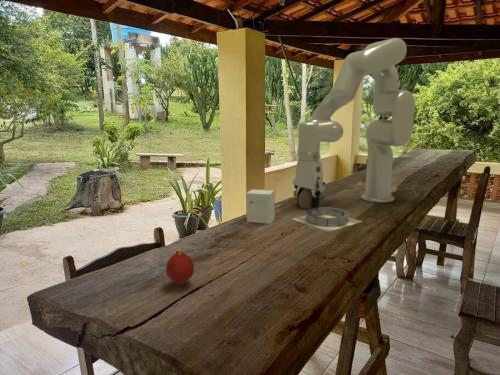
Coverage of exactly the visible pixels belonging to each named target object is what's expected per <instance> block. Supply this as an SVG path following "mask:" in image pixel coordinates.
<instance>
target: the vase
mask: <svg viewBox="0 0 500 375" xmlns="http://www.w3.org/2000/svg"><path fill="white" fill-rule="evenodd" d="M312 197H313V195H312V191H311V190H310V189H306V188H304V189H303V190H302V192H301V193H300V195H299V199H298V201H299V204H298V205H299V208H300V209H303V210H306V211H307V210H308V209H312V207H311V202H312Z"/></svg>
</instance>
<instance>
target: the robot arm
mask: <svg viewBox="0 0 500 375" xmlns="http://www.w3.org/2000/svg"><path fill="white" fill-rule="evenodd" d="M407 48H408V47H407V44H406V42H405V41H404V40H403V39H401V38H399V37H394V38H389V39H385V40H381V41H376V42H373V43H370V44H368V45H367V46H366V47H365V48H364V49H363V50H359V51H355V52H351V53H349V54H348V55H347V56H346V57H345V58H344V60H343V63H342V65H341V67H340V70H339V71H338V74H337V76H336V79H335V82H334V84H333V87H331V88H332V89H331V90H330V92H328V94H327V95H325V96H324V98H323V100H322V101H320V103H319V104H318V105H317V107H315V110H314V111H313V113H312V116H311V119H310V121H302V122H300V123H299V124H298V145H297V146H298V148H297V149H298V152H297V153H298V155H297V156H298V157H297V162H296V167H295V168H296V169H295V178H294V179H293V180H292V181H291V182H292V184H293V186H294V189H295V193H296V196H297V198H296V200H297V201H296V202H297V203H296V204H298V205H299V201H298V199H299V195H300V193H301V192H302V190H303V189H304V188H306V189H310V190H311V191H312V195H313V197H312V202H311V207H312V208H316V207H320V197H321V196H322V194H323V193H324V192H325V191H326V189H327V188H326V186H325V185H324V173H323V165H322V161H321V160H320V159H321V158H322V156H321V152H320V151H321V142H325V143H334V142H335V143H336V142H337V141H339V140H341V138H342V137H343V136H344V127H343V125H342V124H341V123H339V122H338V121H334V120H330V119H331V118H332V116H333V115H334V114H335V113H336V112H338V110H340V109H341V108H343V107H344V106H346V105H348V104H349V103H351V102H352V101H353V100H354V99H355V97H356V94H357V93H358V89H359V88H360V85H361V82H362V81H363V77H366V76H371V75H373V76H374V88H373V98H372V99H373V101H372V110H373V113H374V114H375V115H377V116H380V117H391V119H377V120H373V121H372V122H371V123H369V125H368V126H367V127H366V131H365V136H366V137H365V139H366V144H367V159H366V160H367V161H366V176H365V178H366V180H365V193H362V194H361V196H360V197H361V199H362V200H363V201H366V202H367V201H368V202H372V203H391V202H394V200H395V197H394V196H393V195H392V193H395V192H397V188H396V187H392V177H393V176H392V174H393V161H394V153H393V150H392V147H403V146H405V145H407V144H408V143H409V141H410V140H411V138H412V134H413V127H414V119H415V110H416V101H415V97H414V95H413V93H412V92H411V91H409V90H406V89H399V79H400V78H399V72H398V70H397V68H396V65H397V64H399V63H401V62H402V61H403V59H405V57H406V55H407V51H408V50H407ZM391 146H392V147H391Z"/></svg>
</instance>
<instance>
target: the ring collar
mask: <svg viewBox="0 0 500 375" xmlns="http://www.w3.org/2000/svg"><path fill="white" fill-rule="evenodd" d="M304 214H305V215H304V216H305V220H306V221H307V222H308V223H310V224H313V225H316V226H324V227H338V226H342V225H346V224H347V223H348V221H349V218H350V212H348V211H346V210H345V209H342V208H337V207H331V206H329V207H326V206H322V207H320V206H319V207H316V208H312V209H308V210H307V209H306V211H305V212H304ZM318 215H329V216H336V217H337V218H324V217H317V216H318Z"/></svg>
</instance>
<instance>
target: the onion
mask: <svg viewBox="0 0 500 375" xmlns="http://www.w3.org/2000/svg"><path fill="white" fill-rule="evenodd" d="M194 270H195V265H194V262H193V259H192V258H191V257H190V256H189V255H188V254H186V253H185V252H183V251H182V250H181V249H177V250H176V251H175V253H174V254H172V255H171V257H169V259H168V260H167V263H166V266H165V273H166V275H167V278H168V279H169V280H170V281H171V282H174V283H175V284H177V285H179V286H182V285H185V283H187V282H188V281H189V280H190V279H191V278H192V277H193V274H194Z"/></svg>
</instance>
